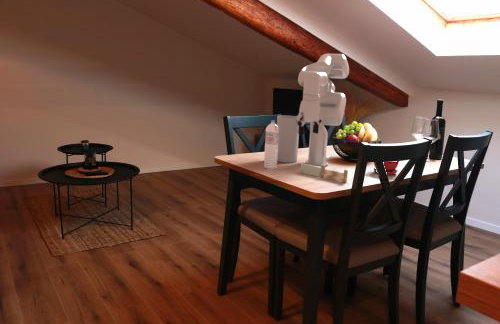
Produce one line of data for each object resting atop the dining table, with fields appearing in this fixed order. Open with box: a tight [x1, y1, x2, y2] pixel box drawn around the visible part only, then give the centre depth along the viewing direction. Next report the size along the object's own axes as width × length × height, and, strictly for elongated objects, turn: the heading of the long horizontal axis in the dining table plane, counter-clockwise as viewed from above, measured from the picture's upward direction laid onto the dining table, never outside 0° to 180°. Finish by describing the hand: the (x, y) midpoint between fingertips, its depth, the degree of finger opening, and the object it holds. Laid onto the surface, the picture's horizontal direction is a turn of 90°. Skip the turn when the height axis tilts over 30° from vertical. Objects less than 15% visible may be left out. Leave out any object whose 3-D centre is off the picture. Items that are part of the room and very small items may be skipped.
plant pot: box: [373, 160, 400, 176], centre depth 217 cm, size 13×13×12 cm
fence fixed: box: [320, 165, 349, 184], centre depth 194 cm, size 14×2×6 cm, turn 47°
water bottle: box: [263, 119, 279, 170], centre depth 213 cm, size 7×7×25 cm
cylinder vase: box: [276, 115, 300, 164], centre depth 235 cm, size 12×12×25 cm
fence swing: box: [299, 162, 322, 178], centre depth 203 cm, size 11×2×4 cm, turn 47°
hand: (308, 133), depth 203 cm, fingers open, 9 cm apart
